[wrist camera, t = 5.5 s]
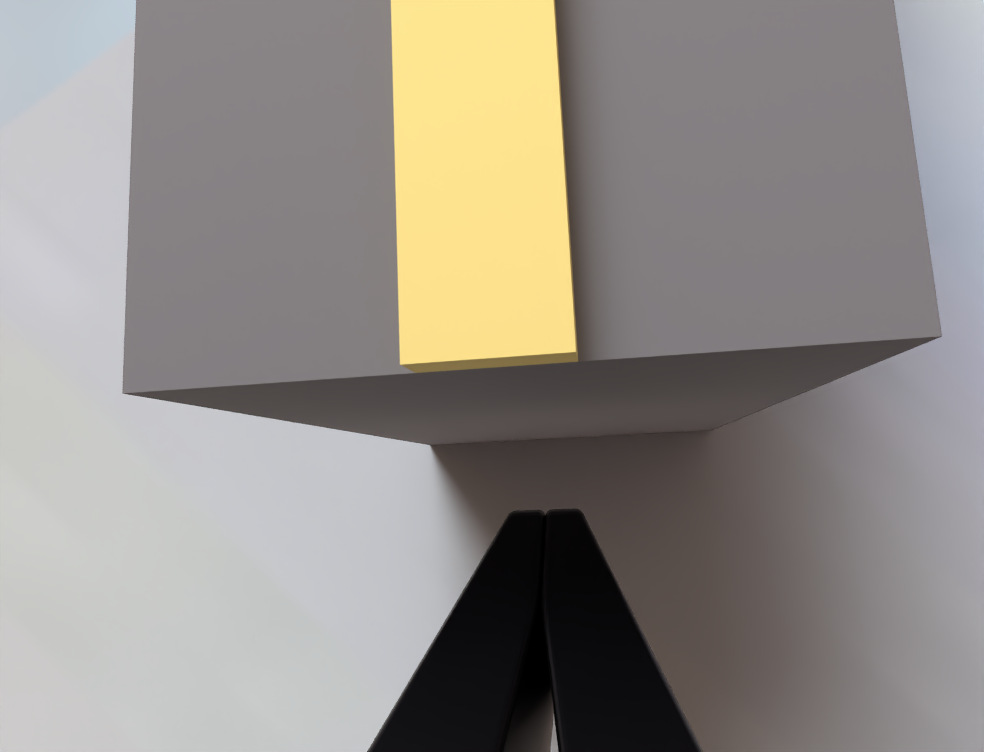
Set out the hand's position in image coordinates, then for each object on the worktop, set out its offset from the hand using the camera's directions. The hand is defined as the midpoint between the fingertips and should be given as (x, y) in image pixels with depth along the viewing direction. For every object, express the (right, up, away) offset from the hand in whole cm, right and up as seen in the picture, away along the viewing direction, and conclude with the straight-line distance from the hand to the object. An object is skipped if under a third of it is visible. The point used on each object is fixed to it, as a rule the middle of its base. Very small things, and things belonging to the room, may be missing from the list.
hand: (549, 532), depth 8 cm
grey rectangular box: (+1, +8, +8) cm, 11 cm away
